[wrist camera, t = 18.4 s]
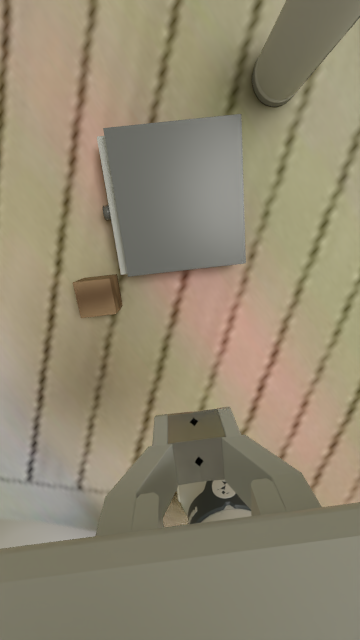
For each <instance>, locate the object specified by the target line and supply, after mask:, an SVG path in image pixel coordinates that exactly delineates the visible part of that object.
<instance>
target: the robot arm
mask: <svg viewBox="0 0 360 640" xmlns="http://www.w3.org/2000/svg"><path fill="white" fill-rule="evenodd" d="M176 491H177V494H178V501H179V502H181V505H182V507H183V509H184V511H185V513H186V515H187V517H188V525H180V526H172V527H165V528H164V525H163V519H162V518H163V516H164V514H165V512H166V510H167V508H168V506H169V504H170V502H171V500H172V498H173V496H174V494H175V492H176ZM0 640H360V502H358V503H351V504H343V505H335V506H328V507H321V505H320V503H319V502H318V500H317V498H316V497H315V495H314V493H313V492H312V490H311V488H310V486H309V485H308V483H307V481H306V480H305V478H304V476H303V475H302V473H301V472H299V471H298V470H296V469H295V468H293V467H292V466H291V465H289V464H288V463H286V462H285V461H283V460H282V459H280V458H279V457H277V456H276V455H274V454H273V453H271V452H270V451H268V450H267V449H265V448H264V447H262V446H261V445H259V444H258V443H256V442H255V441H254V440H252V439H251V438H249V437H248V436H246V435H241V433H240V431H239V428H238V426H237V423H236V421H235V418H234V416H233V413H232V411H231V408H230V407H222V408H217V409H212V410H204V411H196V412H184V413H174V414H168V415H167V414H165V415H156V416H155V418H154V430H153V444H152V446H150V447H148V448H147V449H146V450H145V451H144V453H143V454H142V455H141V456H140V457H139V458H138V460H137V461H136V462H135V463H134V464H133V465H132V467H131V468H130V469H129V470H128V471H127V472H126V474H125V475H124V476H123V477H122V478H121V480H120V481H119V482H118V483H117V484H116V485H115V487H114V488H113V489H112V490H111V491H110V492H109V494H108V495H107V496H106V497H105V501H104V505H103V508H102V512H101V516H100V520H99V524H98V528H97V532H96V536H95V537H88V538H80V539H72V540H64V541H56V542H49V543H41V544H34V545H25V546H18V547H10V548H2V549H0Z"/></svg>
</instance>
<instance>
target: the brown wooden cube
mask: <svg viewBox="0 0 360 640" xmlns="http://www.w3.org/2000/svg"><path fill="white" fill-rule="evenodd" d="M73 286H74V290H75V294H76V299H77V303H78V307H79V312H80V316H81V318H86V317H94V316H103V315H112V314H117V312H118V311H119V310H120V308H121V307H122V300H121V294H120V289H119V283H118V278H117V274H115V275H107V276H98V277H89V278H83V279H81V280H78V281H76V282H73Z"/></svg>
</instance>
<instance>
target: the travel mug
mask: <svg viewBox="0 0 360 640" xmlns="http://www.w3.org/2000/svg"><path fill="white" fill-rule="evenodd" d="M359 18H360V0H286V2H285V4H284V6H283V8H282V10H281V12H280V14H279V17H278V19H277V21H276V23H275V25H274V27H273V29H272V31H271V33H270V35H269V37H268V39H267V41H266V43H265V45H264V47H263V49H262V51H261V54H260V56H259V58H258V60H257V62H256V64H255V67H254V70H253V77H252V82H253V88H254V91H255V93H256V96H257V97H258V98H259V100H260V101H261V102H263V103H264V104H266V105H268V106H281V105H283V104H285V103H286V102H288V101H289V100H290V99H291V98H292V97H293V96H294V94H295V93H296V92H297V91H298V90H299V89H300V87H301V86H302V85H303V84H304V83H305V81H306V80H307V79H308V78H309V77H310V76H311V74H312V73H313V72H314V71H315V70H316V68H317V67H318V66H319V65H320V64H321V63H322V61H323V60H324V59H325V58H326V57H327V55H328V54H329V53H330V52H331V51H332V50H333V48H334V47H335V46H336V45H337V44H338V42H339V41H340V40H341V39H342V38H343V37H344V35H345V34H346V33H347V32H348V31H349V29H350V28H351V27H352V26H353V25H354V24H355V22H356V21H357V20H358V19H359Z"/></svg>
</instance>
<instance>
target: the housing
mask: <svg viewBox="0 0 360 640" xmlns="http://www.w3.org/2000/svg"><path fill="white" fill-rule="evenodd" d="M103 129H104V135H105V141H106V147H107V153H108V159H109V165H110V171H111V177H112V183H113V189H114V195H115V201H116V207H117V213H118V219H119V225H120V232H121V238H122V244H123V250H124V256H125V262H126V268H127V274H128V277H129V276H137V275H146V274H155V273H164V272H173V271H182V270H190V269H199V268H208V267H217V266H226V265H234V264H243V263H246V257H245V223H244V190H243V156H242V122H241V114H236V115H226V116H217V117H207V118H197V119H188V120H178V121H169V122H159V123H149V124H140V125H130V126H121V127H111V128H103Z"/></svg>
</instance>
